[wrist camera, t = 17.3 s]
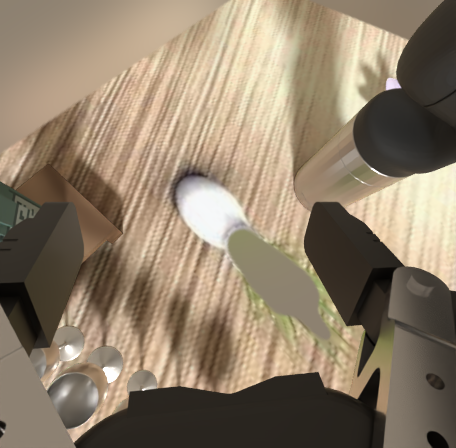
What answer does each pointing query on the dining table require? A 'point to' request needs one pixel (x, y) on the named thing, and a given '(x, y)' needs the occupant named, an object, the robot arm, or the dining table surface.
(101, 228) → the walnut shelf
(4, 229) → the can
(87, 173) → the dining table surface
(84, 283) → the dining table surface
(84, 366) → the goblet set
